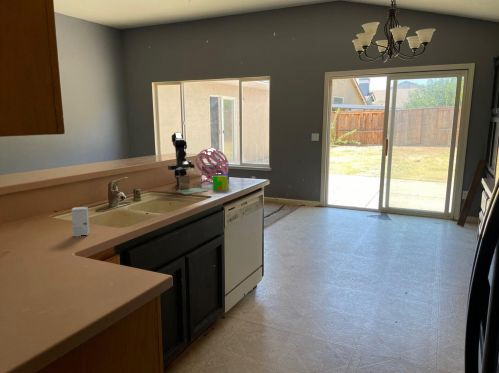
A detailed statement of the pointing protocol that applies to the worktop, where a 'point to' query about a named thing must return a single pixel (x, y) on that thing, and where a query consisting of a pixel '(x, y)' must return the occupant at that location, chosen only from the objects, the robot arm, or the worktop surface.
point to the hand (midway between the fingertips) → (181, 178)
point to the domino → (184, 182)
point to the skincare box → (80, 221)
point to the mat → (191, 191)
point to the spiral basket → (216, 167)
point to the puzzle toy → (221, 182)
